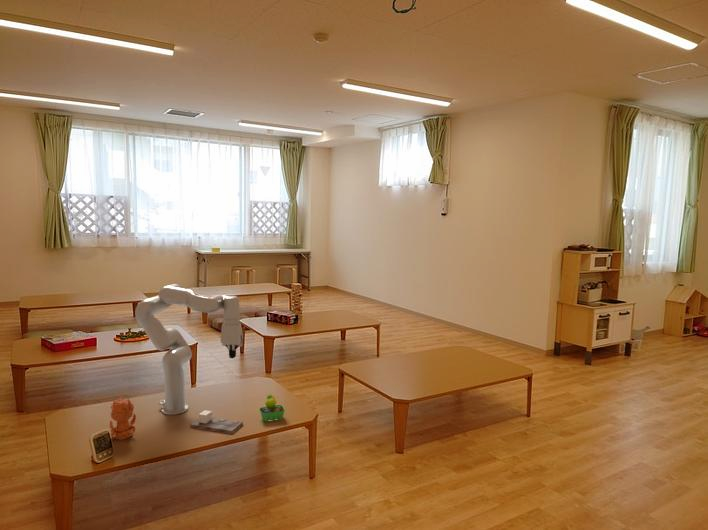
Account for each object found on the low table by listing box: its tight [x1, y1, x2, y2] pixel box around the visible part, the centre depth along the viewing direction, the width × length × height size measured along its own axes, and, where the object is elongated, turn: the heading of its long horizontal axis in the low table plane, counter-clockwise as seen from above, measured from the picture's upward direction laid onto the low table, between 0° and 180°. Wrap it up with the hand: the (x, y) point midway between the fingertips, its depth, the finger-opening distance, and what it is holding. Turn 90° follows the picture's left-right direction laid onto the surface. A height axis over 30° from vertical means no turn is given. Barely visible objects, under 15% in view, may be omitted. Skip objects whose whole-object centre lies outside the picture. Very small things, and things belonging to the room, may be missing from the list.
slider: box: [198, 409, 213, 423], centre depth 225 cm, size 4×5×4 cm
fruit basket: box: [258, 394, 286, 422], centre depth 234 cm, size 11×9×11 cm
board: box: [189, 416, 244, 435], centre depth 224 cm, size 22×10×2 cm, turn 75°
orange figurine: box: [109, 396, 137, 441], centre depth 211 cm, size 11×11×18 cm
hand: (232, 357), depth 235 cm, fingers closed
